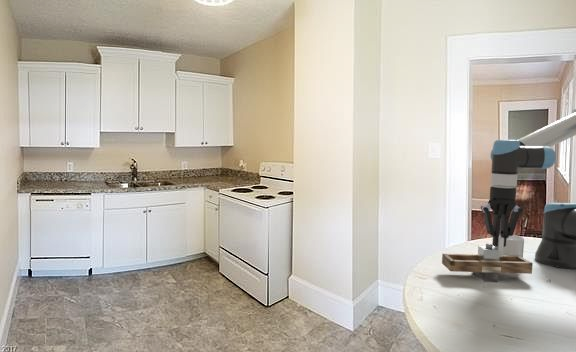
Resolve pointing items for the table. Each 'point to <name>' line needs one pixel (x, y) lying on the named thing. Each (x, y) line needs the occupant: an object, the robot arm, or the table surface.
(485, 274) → the beam
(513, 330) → the table surface
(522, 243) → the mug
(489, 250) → the white block with knob
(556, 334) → the table surface
